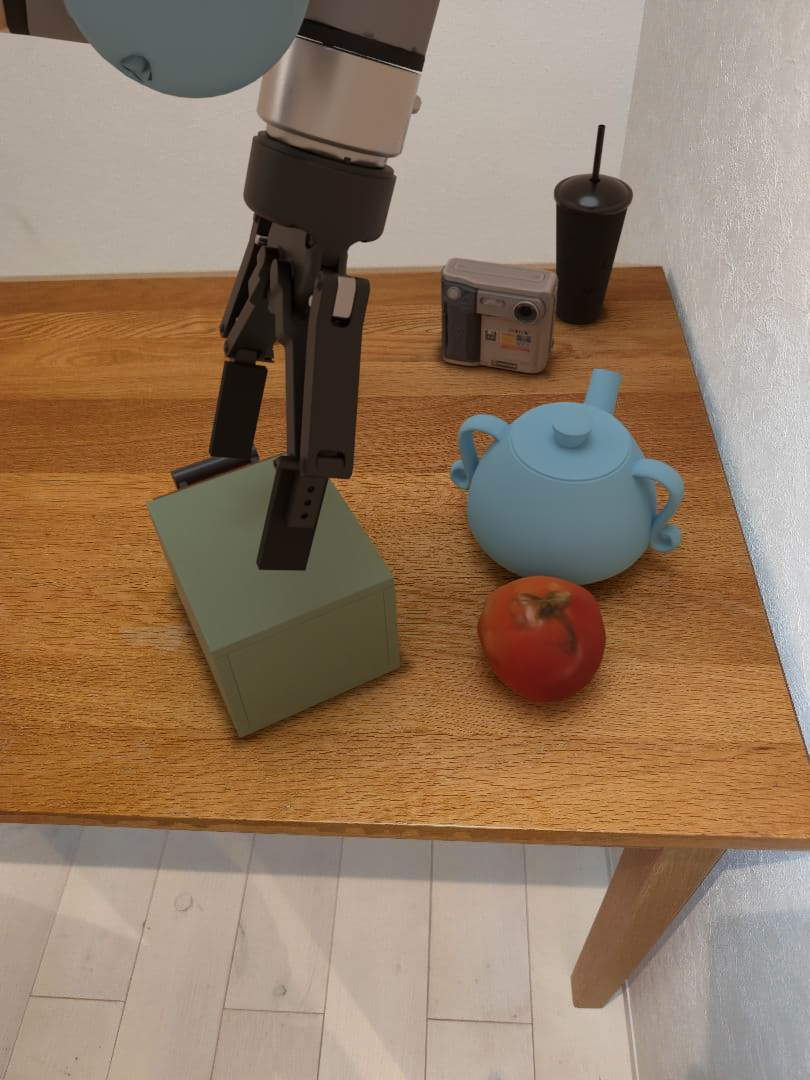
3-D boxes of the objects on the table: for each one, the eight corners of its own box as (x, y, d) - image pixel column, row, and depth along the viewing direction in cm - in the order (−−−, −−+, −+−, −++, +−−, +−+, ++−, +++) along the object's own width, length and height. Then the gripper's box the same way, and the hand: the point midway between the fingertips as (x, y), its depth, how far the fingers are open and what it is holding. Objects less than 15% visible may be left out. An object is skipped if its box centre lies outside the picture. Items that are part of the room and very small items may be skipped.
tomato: (482, 609, 71) (485, 542, 65) (600, 622, 69) (614, 555, 63) (469, 711, 64) (471, 647, 58) (598, 726, 63) (614, 663, 57)
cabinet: (178, 595, 73) (145, 502, 64) (322, 539, 76) (308, 444, 68) (240, 738, 64) (210, 652, 56) (400, 667, 67) (394, 576, 59)
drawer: (161, 535, 76) (133, 458, 69) (287, 488, 79) (273, 410, 72) (234, 702, 64) (210, 629, 58) (378, 640, 68) (371, 564, 61)
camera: (434, 363, 92) (433, 277, 84) (451, 331, 95) (451, 246, 88) (542, 383, 89) (551, 296, 82) (556, 350, 93) (565, 264, 85)
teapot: (413, 560, 74) (408, 447, 65) (501, 416, 86) (508, 303, 77) (647, 640, 68) (680, 528, 59) (707, 473, 80) (742, 358, 70)
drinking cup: (529, 318, 97) (545, 132, 82) (563, 284, 101) (583, 102, 86) (593, 340, 94) (621, 151, 79) (625, 305, 98) (657, 119, 83)
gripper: (500, 222, 37) (375, 627, 47) (325, 120, 57) (262, 424, 66) (334, 185, 34) (237, 628, 44) (207, 90, 53) (160, 414, 63)
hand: (252, 506), depth 55 cm, fingers open, 13 cm apart
